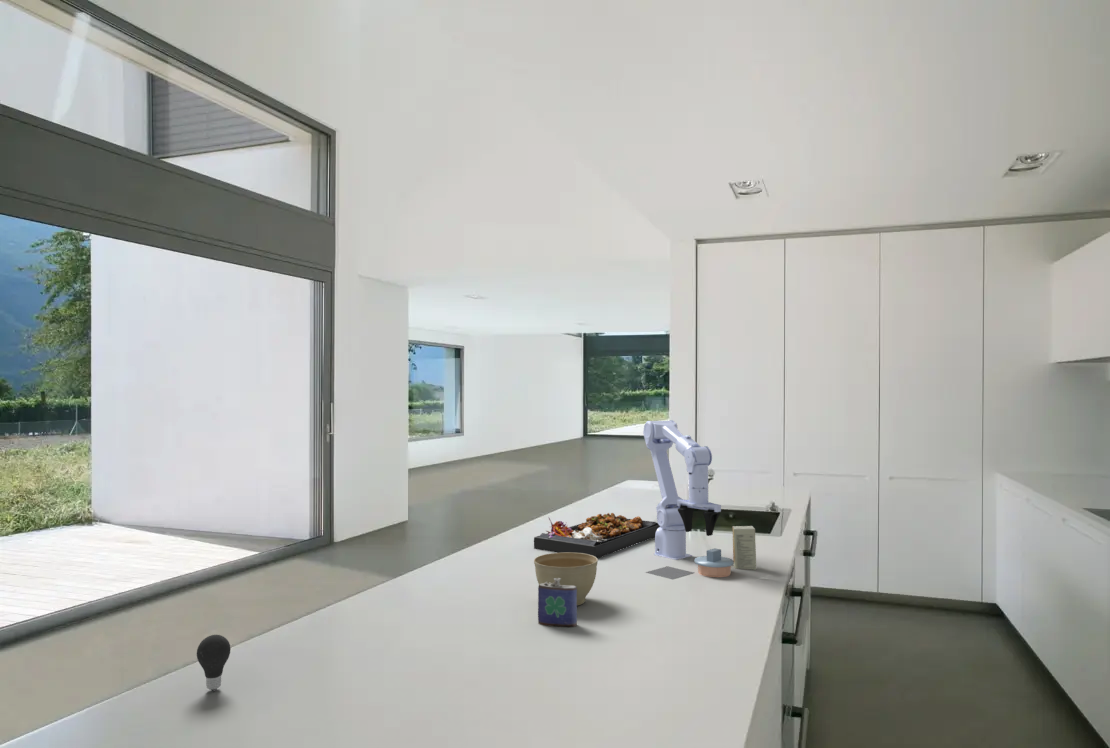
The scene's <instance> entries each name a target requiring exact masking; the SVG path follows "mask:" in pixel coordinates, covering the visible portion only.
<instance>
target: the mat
mask: <svg viewBox="0 0 1110 748" xmlns="http://www.w3.org/2000/svg"><path fill="white" fill-rule="evenodd" d="M644 573H646V574H650V575H654V576H658V577H662V578H665V579H669V580H675V579H679V578H682V577H685V576H690V575H693V574H695V572H693V571H689V570H684V569H680V568H676V567H674V566H673V567H672V566H662V567H659V568H657V569H652V570H648V571H645V572H644Z"/></svg>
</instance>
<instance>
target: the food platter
mask: <svg viewBox="0 0 1110 748" xmlns="http://www.w3.org/2000/svg"><path fill="white" fill-rule="evenodd" d="M548 520H549V521H550V522H549V523H550V525H551V526H550V528H551V529H550V531H549V530H545V532H547V533H545V532H542V533H541V534H540V535H537V536H534V537H533V549H535V550H541V551H547V552H552V553H565V552H569V553H584V554H589V555H592V556H595V557H596V558H597V559H599V558H603V557H605V556H608V555H611V554H614V553H616V552H618V550H619V551H621V550H620V549H622V550H624V549H627V548H630V547H632V546H631V545H633V546H635V545H637V544H636V543H638V544H640V543H639V542H641V543H643V542H642V541H644V542H646V541H648V540H647V539H649V540H651V539H650V538H652V539H654V538H653V537H655V534H656V531H657V529H658V528H659V527H660V526H659V524H658V522H657V521H650V520H643V519H642V518H641V516H639V515H638V516H635V517H633V518H627V517H626V516H624V515H622V514H620V515H617V516H616V515H615V513H614V512H611V513H610V512H608V513H607V514H606V513H604V514H603V515H602V513H599V514H597V515H593V516H590V517H587V518H586V519H585V520H586V521H585V522H581V523H579V524H576V525H572V526H569V527H568V526H567V523H564V521H561V520H556V521H555V522H554V523H553V522H552V520H551V518H550V517H548ZM645 540H646V541H645ZM634 544H635V545H634ZM629 546H630V547H629ZM626 547H627V548H626ZM623 548H624V549H623ZM615 551H616V552H615ZM613 552H614V553H613ZM602 556H603V557H602Z"/></svg>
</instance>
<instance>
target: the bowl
mask: <svg viewBox="0 0 1110 748" xmlns="http://www.w3.org/2000/svg"><path fill="white" fill-rule="evenodd" d="M697 572H698V574H699V575H701V576H704V577H709V578H726V577H729V576H731V572H732V566H729V567H706V566H701V565H698V564H697Z"/></svg>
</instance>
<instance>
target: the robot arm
mask: <svg viewBox="0 0 1110 748" xmlns="http://www.w3.org/2000/svg"><path fill="white" fill-rule="evenodd" d="M642 432H643V438H644V441H645V445H646V448H647V449H648V450H649V451H650V455H651V459H652V464H653V467H654V471H655V476H656V479H657V480H656V481H657V483H658V487H659V490H660V495H661V496H660V497H661V499H662V500H660V502H659V503H658V504H657V505H656V507H655V510H656V520H657V521H656V523H658V524H659V526H660V527H659V528H658V529H657V531H656V534H655V538H654V553H653V556H656V557H660V558H661V557H662V558H667V559H670V560H674V561H677V560H682V559H685V558H689V557H692V556H693V554H691V553H687V533H688V532H689V533H690V532H692V530H693V515H694V511H695V509H696V510H697V509H698V510H701V511H703V513H702V514H703V517H704V522H705V534H706V537H711V536H713V534H714V529H715V526H716V523H717V521H718V519H719V517H720V515H721V512H722V509H721V508H722V504H717V503H713V502H709V467H710V465H711V464H712V461H713V455H712V450H711V449H710V447H708V445H707V446H706V445H704V446H701V445H700V444H699V443H698V442H697V441H696V440H694V439H693V438H692V436H691V435H688V434H687V435H683V433H681V431H680V430H679V429H678V423H677V422H675V420H673V419H670V420H647V421H646V422H645V423H644V425H643V431H642ZM673 444H675V449H676V451H677V452H678V453H680V454H681V455H682V457H684V461H685V464H686V471H687V472H688V499H683V498H682V497H680V496H679V494H678V491H677V487H676V483H675V480H674V479H675V478H674V475H673V471H672V468H671V463H670V460H669V456H668V453H667V452H668V450H669V449H671V448H672V447H673Z"/></svg>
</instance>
